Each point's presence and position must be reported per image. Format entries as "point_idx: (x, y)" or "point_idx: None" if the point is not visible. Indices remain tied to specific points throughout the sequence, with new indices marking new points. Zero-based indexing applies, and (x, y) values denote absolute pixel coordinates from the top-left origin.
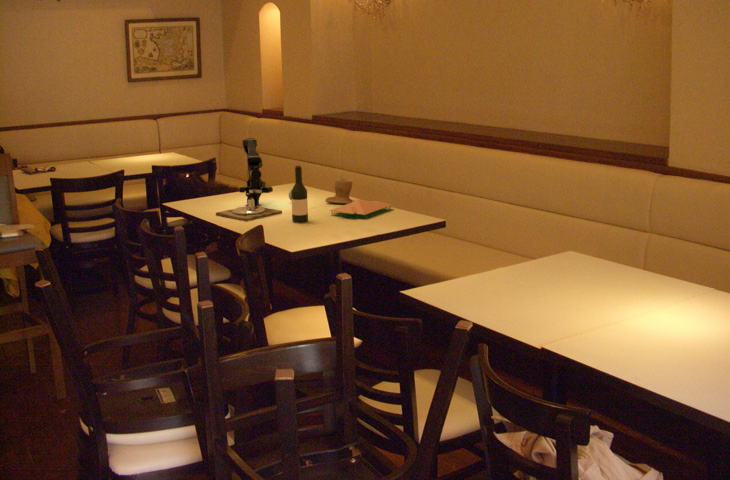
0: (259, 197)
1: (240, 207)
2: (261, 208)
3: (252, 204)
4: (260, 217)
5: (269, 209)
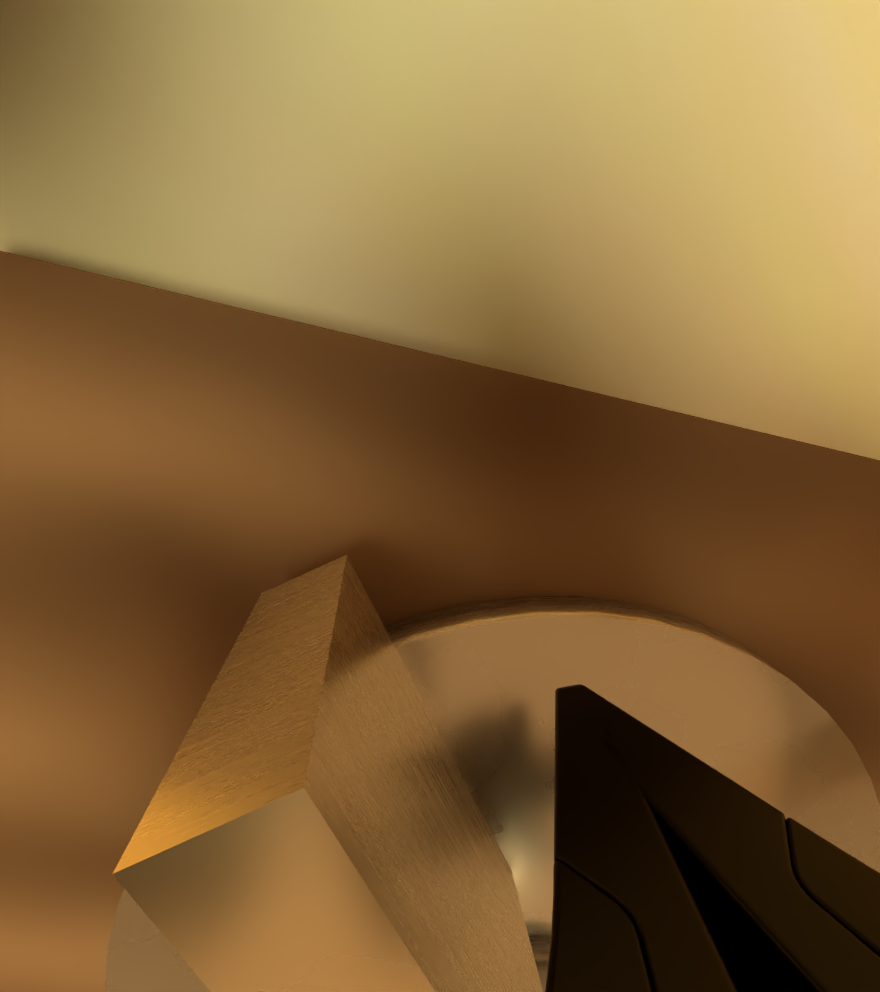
0: (867, 893)
1: (138, 915)
2: (751, 749)
3: (469, 840)
4: None
5: (842, 534)
